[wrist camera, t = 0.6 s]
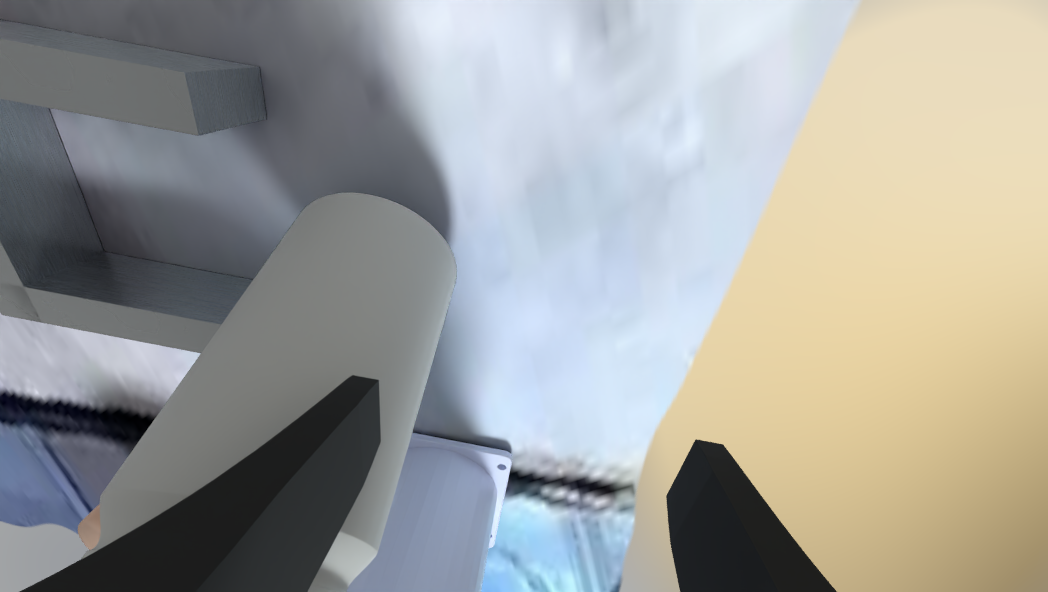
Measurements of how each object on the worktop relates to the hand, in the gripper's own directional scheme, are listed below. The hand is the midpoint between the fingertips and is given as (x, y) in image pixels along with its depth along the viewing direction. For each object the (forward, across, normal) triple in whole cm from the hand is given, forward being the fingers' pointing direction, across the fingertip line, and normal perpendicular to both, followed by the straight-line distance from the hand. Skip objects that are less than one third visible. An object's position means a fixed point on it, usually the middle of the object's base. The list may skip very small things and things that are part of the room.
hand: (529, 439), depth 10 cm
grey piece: (+10, +17, 0) cm, 20 cm away
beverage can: (+9, +7, 0) cm, 11 cm away
